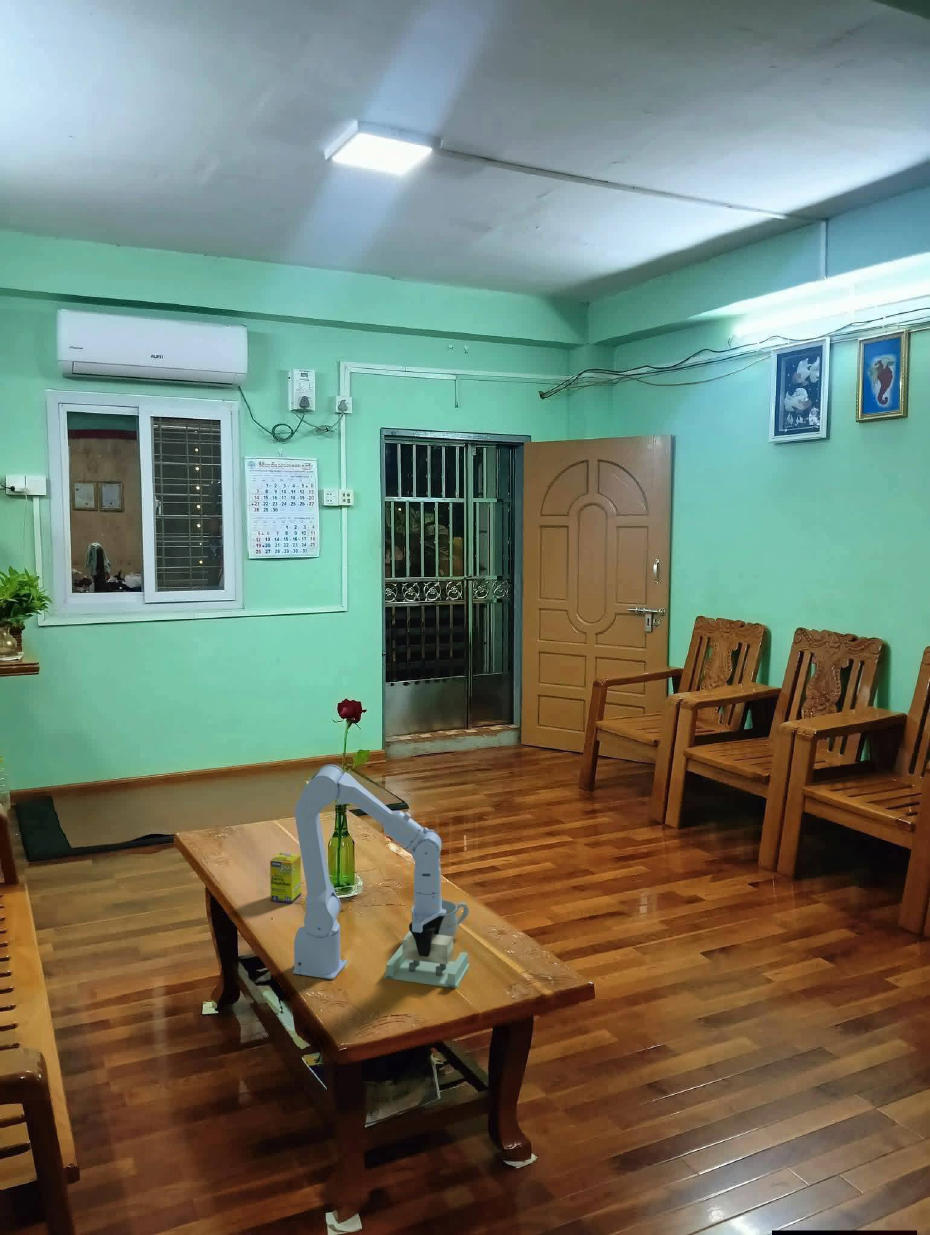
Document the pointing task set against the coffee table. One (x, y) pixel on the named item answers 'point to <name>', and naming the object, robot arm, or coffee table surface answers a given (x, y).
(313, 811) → the robot arm
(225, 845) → the coffee table surface
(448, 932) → the teacup
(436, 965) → the peg frame
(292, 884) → the supplement box
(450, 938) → the shelf block
